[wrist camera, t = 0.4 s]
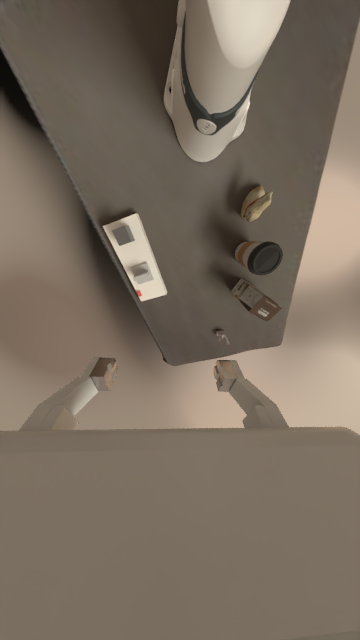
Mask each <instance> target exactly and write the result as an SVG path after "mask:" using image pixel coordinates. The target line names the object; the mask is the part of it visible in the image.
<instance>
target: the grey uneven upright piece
mask: <svg viewBox="0 0 360 640" xmlns="http://www.w3.org/2000/svg"><path fill="white" fill-rule="evenodd" d="M216 331H217V330H216ZM219 335H220V336H221V335H222V337H220V338H221V339H222V338H223V337H225V339H226V342H227V344H229V339H228V337H227V336H226V335H225V332H224V330H222V331H217V336H219ZM219 341H220V340H219Z"/></svg>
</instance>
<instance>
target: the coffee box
mask: <svg viewBox="0 0 360 640" xmlns="http://www.w3.org/2000/svg"><path fill="white" fill-rule="evenodd" d="M231 292H232V293H233V294H234V295H235V296H236V297H237V299H238V300H239V301H240V302H241V303H242V304H243V305H244V307H245V308H246V309H247V310H248V311H249V312H250V313H252V314H254V315H256V316H258V317H259V318H261V319H263V320H265V321H269V320H270V319H271V318H272V317H273V316H274V315H276V314H277V312H278V311H279V310H280V309H281V308H282V307H281V306H279V305H278V304H277V303H275V302H274V301H273V300H272V299H270V298H269V297H268V296H266V295H265V294H264V293H262V292H261V291H259V290H258V289H257V288H255V287H254V286H252V285H251V284H249V283H248V282H246V281H245V280H243V279H240V280H239V282H238V283H237V284H236V285H235V287H234V288H233V289H232V291H231Z"/></svg>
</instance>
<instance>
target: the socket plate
mask: <svg viewBox="0 0 360 640" xmlns="http://www.w3.org/2000/svg"><path fill="white" fill-rule="evenodd" d="M122 226H129V227H130V230H131V232H132V234H133V237H134V239H135V241H133V242H130V243H127V244H124V245H121V246H119V245H118V243H117V240H116V238H115V236H114V234H113V232H112V230H114V229H117V228H119V227H122ZM103 228H104V230H105V232H106V234H107V236H108V238H109V240H110V242H111V244H112V246H113V248H114V249H115V251H116V253H117V255H118V257H119V259H120V261H121V263H122V265H123V267H124V269H125V271H126V273H127V275H128V277H129V279H130V281H131V283H132V284H133V286H134V288H135V290H136V292H137V294H138V296H139V298H140V300H141V301H145V300H148V299H152V298H155V297H159V296H162V295H166V294H167V290H166V287H165V285H164V282H163V279H162V276H161V274H160V271H159V268H158V266H157V263H156V260H155V258H154V255H153V252H152V249H151V247H150V244H149V241H148V239H147V236H146V233H145V230H144V228H143V225H142V222H141V220H140V217H139V214H137V213H136V214H133V215H131V216H128V217H125V218H123V219H120V220H118V221H115V222H113V223H110V224H107V225H105V226H103ZM144 263H148V266H149V268H150V271H151V273H152V276H153V278H154V280H152V281H148V282H145V283H142V284H138V282H137V281H134V279H133V277H134V274H133V272H132V270H131V268H132V267H135V266H138V265H141V264H144Z"/></svg>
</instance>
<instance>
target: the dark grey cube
mask: <svg viewBox="0 0 360 640" xmlns="http://www.w3.org/2000/svg"><path fill="white" fill-rule="evenodd" d="M112 232H113V234H114V236H115V238H116V240H117V243H118V245H119V246H121V245H124V244H127V243H130V242H133V241H135V239H134V237H133V234H132V232H131V230H130V227H129V226H122V227H119V228H117V229H114V230H112Z"/></svg>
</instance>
